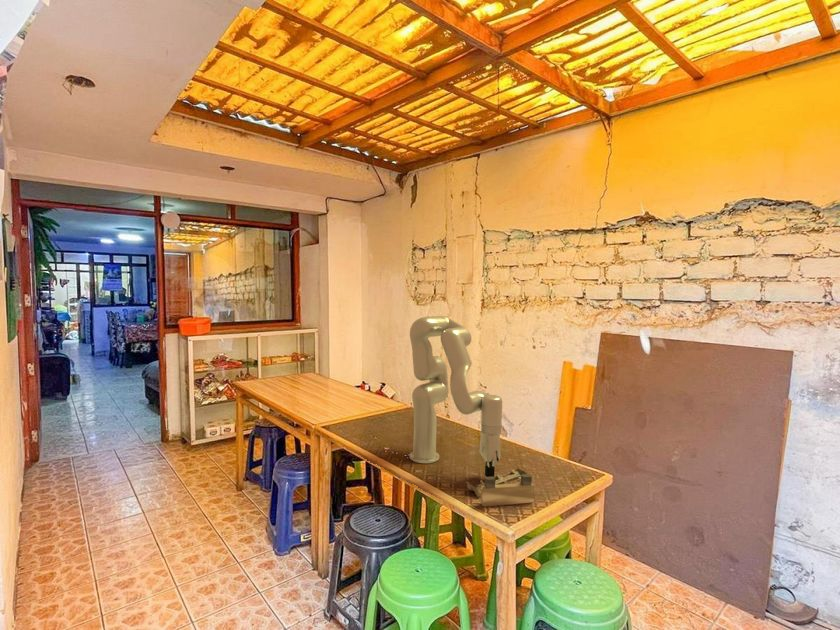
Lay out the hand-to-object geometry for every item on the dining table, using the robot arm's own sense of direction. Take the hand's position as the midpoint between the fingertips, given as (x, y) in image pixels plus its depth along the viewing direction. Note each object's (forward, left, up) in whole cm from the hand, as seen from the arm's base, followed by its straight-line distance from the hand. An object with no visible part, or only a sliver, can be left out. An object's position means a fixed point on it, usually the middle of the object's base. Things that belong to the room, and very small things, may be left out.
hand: (489, 476), depth 158 cm
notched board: (+17, 0, -2) cm, 17 cm away
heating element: (+4, +2, -2) cm, 5 cm away
